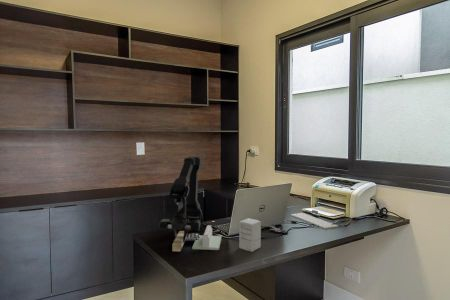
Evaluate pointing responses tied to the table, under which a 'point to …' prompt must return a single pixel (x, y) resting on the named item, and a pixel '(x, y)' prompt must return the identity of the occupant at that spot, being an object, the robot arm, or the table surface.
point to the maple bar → (178, 242)
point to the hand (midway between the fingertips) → (179, 241)
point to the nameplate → (277, 230)
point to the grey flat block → (314, 221)
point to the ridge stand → (207, 241)
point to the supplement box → (250, 234)
